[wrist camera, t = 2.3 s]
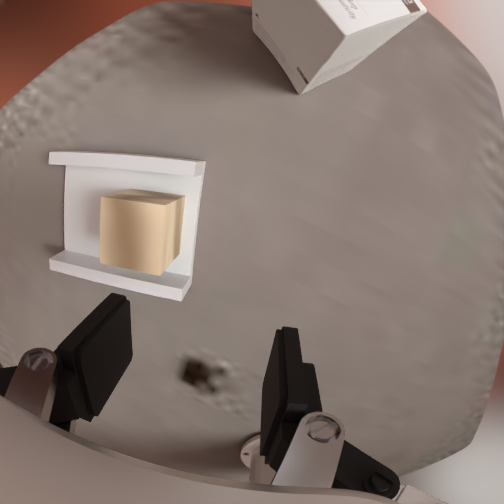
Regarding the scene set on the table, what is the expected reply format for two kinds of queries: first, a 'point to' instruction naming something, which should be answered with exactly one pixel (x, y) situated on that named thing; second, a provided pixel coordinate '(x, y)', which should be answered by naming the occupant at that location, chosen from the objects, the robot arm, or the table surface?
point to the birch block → (141, 230)
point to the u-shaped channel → (115, 180)
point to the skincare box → (327, 33)
